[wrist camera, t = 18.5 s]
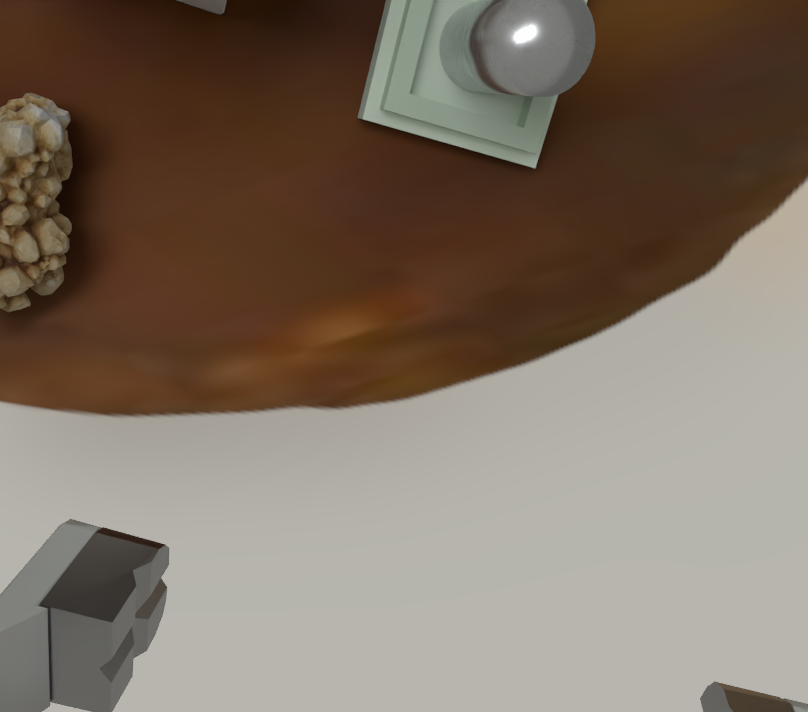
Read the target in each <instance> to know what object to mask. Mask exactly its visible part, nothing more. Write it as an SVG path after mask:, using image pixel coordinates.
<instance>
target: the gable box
mask: <svg viewBox="0 0 808 712" xmlns="http://www.w3.org/2000/svg"><path fill="white" fill-rule="evenodd" d="M177 1H180V2H183V3H186V4H189V5H192V6H195V7H198V8H201V9H204V10H207V11H210V12H213V13H216V14H222V13H224V11H225V6H226V1H227V0H177Z"/></svg>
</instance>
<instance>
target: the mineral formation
mask: <svg viewBox="0 0 808 712" xmlns="http://www.w3.org/2000/svg"><path fill="white" fill-rule="evenodd" d="M69 122H70V116H69V112H68V111H65V110H63V109H60V108H58V107H57V106H56V105H55V103H54V102H53V101H52V100H49V99H46V98H44V97H41V96H39V95H36V94H33V93H26V94H25V95H24V96H23V98H20V99H12V100H9V101H8V103H7V105H5V106H2V107H1V108H0V308H1V309H3V310H5V311H7V312H11V311H14V310H20V309H23V308H25V307H28V306H30V305H31V303H30V300H29V298H28V297H27V295H26V293H24V292H25V291H26V290H28V289H29V288H31V289H32V290H33V291H34V292H36V293H38V294H40V295H51V294H52V293H53V292H54V291H55V290H56V289H57V288H58V287H59V286H60V285H61V283H62V282H63V280H64V273H63V268H62V266H63V265H64V264H66V256H65V254H64V253H66V252H68V249H69V238H68V237H67V235H69V234H70V232H71V230H72V224H71V222H70V221H69V219H68V218H66V217H65V216H63V215H62V214H60V213H59V205H60V204H59V203H58V202H57V201H56V200H55V198H56V197H57V195H58V194H59V193H60V191H61V189H62V184H61V182H62V181H64V180H66V179H68V178H69V176H70V174H71V169H72V167H73V163H72V152H71V145H70V143H69V140H68V132H67V130H65V129H66V128H67V126H68V124H69Z"/></svg>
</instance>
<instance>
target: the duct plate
mask: <svg viewBox="0 0 808 712" xmlns="http://www.w3.org/2000/svg"><path fill="white" fill-rule="evenodd" d="M477 1H481V0H386V2H385V7H384V11H383V15H382V19H381V23H380V27H379V31H378V36H377V40H376V44H375V48H374V52H373V56H372V60H371V64H370V69H369V73H368V77H367V81H366V85H365V89H364V93H363V98H362V102H361V106H360V110H359V114H358V118H360V119H363V120H367V121H370V122H374V123H377V124H381V125H384V126H388V127H391V128H395V129H398V130H402V131H405V132H409V133H412V134H416V135H419V136H423V137H426V138H430V139H433V140H437V141H440V142H444V143H447V144H451V145H454V146H458V147H461V148H465V149H468V150H472V151H475V152H479V153H482V154H486V155H489V156H493V157H496V158H500V159H503V160H507V161H510V162H514V163H518V164H521V165H525V166H528V167H532V168H536V165H537V161H538V158H539V155H540V152H541V149H542V145H543V142H544V139H545V136H546V133H547V129H548V126H549V123H550V120H551V116H552V113H553V110H554V107H555V104H556V100H557V97H558V95H555V96H550V97H533V96H520V95H507V94H493V93H480V92H471V91H467V90H464V89H462V88H460V87H459V86H457V85H456V84H455V83H453V82H452V80H451V79H450V78H449V77H448V76H447V74H446V72H445V70H444V68H443V66H442V63H441V59H440V53H439V45H440V38H441V34H442V31H443V28H444V26H445V24H446V22H447V21H448V19H449V18H450V17H451V16H452V14H453V13H455V12H456V11H457V10H458V9H460V8H461V7H463V6H465V5H467V4H470V3H473V2H477ZM583 1H584V2H585V3H586V4H587V1H588V0H583Z"/></svg>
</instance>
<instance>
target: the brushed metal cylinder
mask: <svg viewBox="0 0 808 712" xmlns="http://www.w3.org/2000/svg"><path fill="white" fill-rule="evenodd" d="M594 47H595V27H594V21H593V18H592V15H591V13H590V10H589V8H588V6H587V5H586V3H585V2H584V1H583V0H481V1H477V2H473V3H470V4H467V5H465V6H463V7H461V8H460V9H458V10H457V11H456V12H455V13H453V14H452V16H451V17H450V18H449V19H448V21H447V22H446V24H445V26H444V28H443V31H442V34H441V38H440V45H439V53H440V59H441V63H442V66H443V68H444V70H445V72H446V74H447V76H448V77H449V78H450V79H451V80H452V82H453V83H455V84H456V85H457V86H459V87H460V88H462V89H464V90H467V91H471V92H480V93H493V94H507V95H520V96H533V97H550V96H555V95H558V94H561V93H563V92H565V91H567V90H568V89H569V88H571V87H572V86H573V85H575V84H576V83H577V82H578V81H579V79H580V78H581V77H582V76H583V74H584V73H585V71H586V70H587V68H588V66H589V64H590V61H591V59H592V56H593V52H594Z"/></svg>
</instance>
